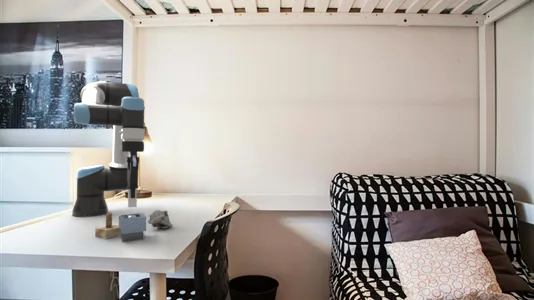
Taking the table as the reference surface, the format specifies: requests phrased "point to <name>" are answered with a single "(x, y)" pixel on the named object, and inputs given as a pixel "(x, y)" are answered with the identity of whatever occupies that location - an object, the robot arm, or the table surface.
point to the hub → (132, 234)
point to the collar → (132, 223)
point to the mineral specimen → (160, 219)
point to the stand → (107, 229)
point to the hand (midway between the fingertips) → (132, 206)
